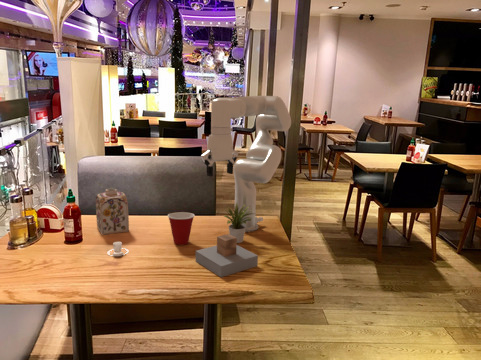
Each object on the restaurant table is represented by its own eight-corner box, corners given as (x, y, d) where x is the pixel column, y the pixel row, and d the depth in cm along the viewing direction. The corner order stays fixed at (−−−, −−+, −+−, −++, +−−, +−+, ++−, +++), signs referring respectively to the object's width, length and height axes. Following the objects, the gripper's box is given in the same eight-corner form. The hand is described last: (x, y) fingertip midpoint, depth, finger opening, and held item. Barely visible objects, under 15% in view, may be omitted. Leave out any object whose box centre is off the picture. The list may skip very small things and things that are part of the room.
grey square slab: (230, 251, 158) (230, 241, 157) (257, 266, 145) (257, 255, 144) (195, 261, 148) (195, 250, 147) (220, 277, 136) (221, 266, 135)
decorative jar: (96, 227, 180) (94, 187, 177) (123, 223, 186) (121, 185, 182) (101, 235, 170) (99, 194, 166) (129, 231, 176) (128, 191, 172)
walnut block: (228, 249, 149) (228, 233, 148) (236, 253, 145) (236, 238, 144) (216, 252, 146) (217, 236, 145) (224, 256, 142) (225, 240, 141)
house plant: (240, 251, 158) (241, 210, 155) (212, 243, 166) (212, 204, 162) (259, 240, 170) (260, 203, 166) (232, 233, 177) (233, 197, 174)
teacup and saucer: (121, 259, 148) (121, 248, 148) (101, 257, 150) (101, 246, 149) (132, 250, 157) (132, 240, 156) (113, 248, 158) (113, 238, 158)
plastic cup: (194, 237, 171) (194, 210, 169) (194, 247, 161) (194, 218, 158) (168, 237, 170) (168, 210, 167) (166, 247, 160) (166, 218, 157)
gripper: (232, 129, 165) (231, 171, 169) (196, 131, 155) (196, 175, 159) (244, 131, 160) (242, 174, 163) (207, 133, 149) (207, 178, 153)
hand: (220, 174), depth 161 cm, fingers open, 9 cm apart
